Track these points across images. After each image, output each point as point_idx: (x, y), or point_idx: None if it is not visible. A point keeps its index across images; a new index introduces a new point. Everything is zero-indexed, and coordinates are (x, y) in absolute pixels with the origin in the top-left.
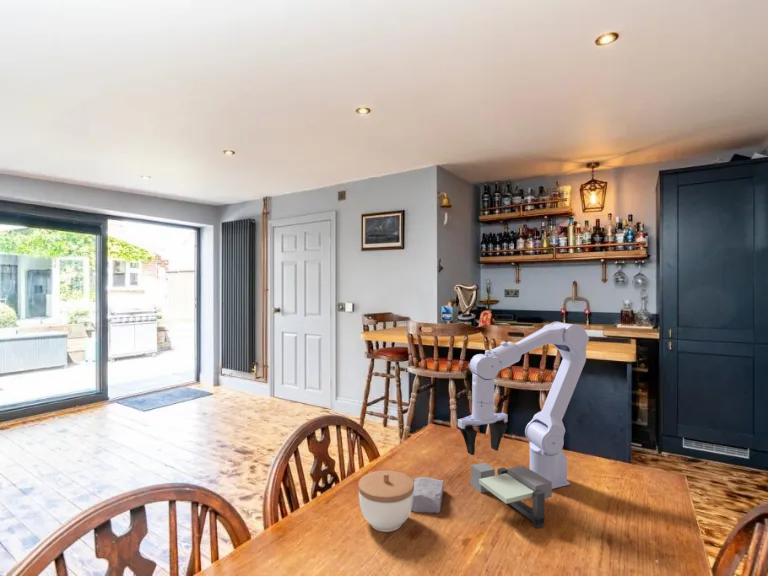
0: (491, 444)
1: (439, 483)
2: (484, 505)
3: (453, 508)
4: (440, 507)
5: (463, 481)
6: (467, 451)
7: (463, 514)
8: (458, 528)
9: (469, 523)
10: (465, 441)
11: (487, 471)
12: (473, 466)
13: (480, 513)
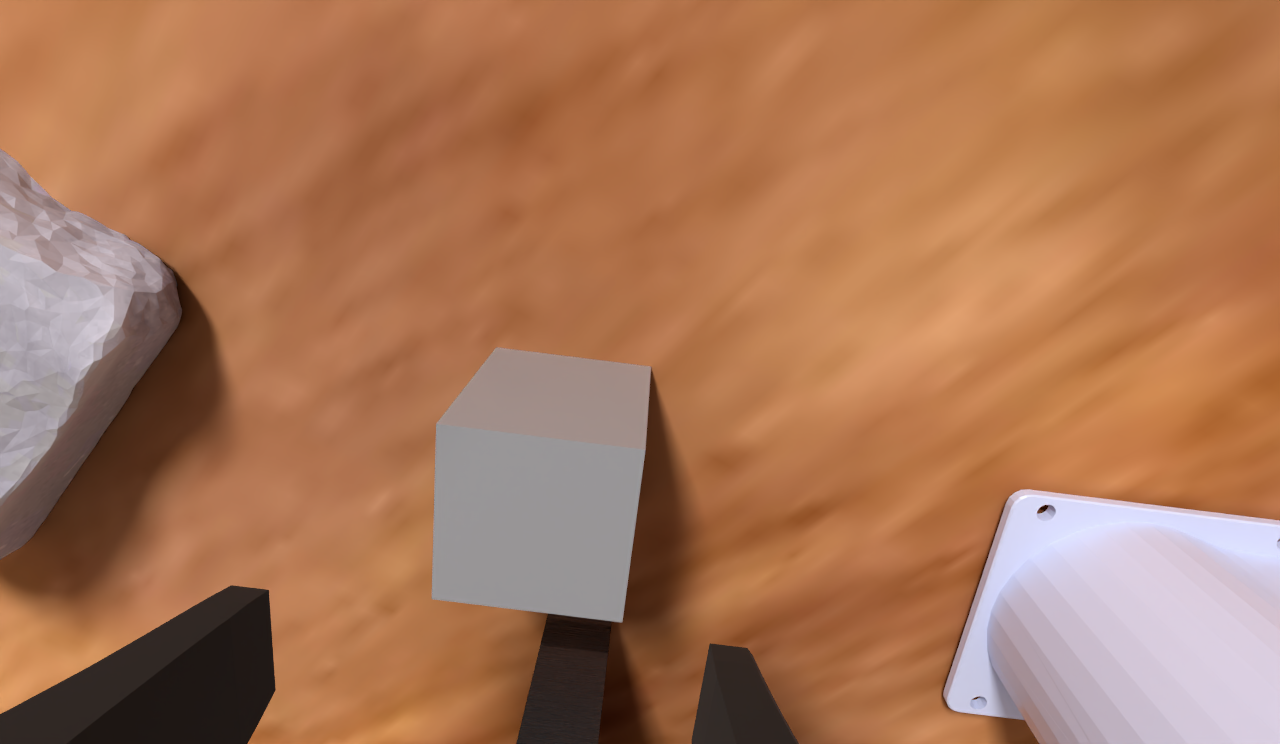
0: (711, 694)
1: (41, 382)
2: (397, 618)
3: (156, 544)
4: (35, 525)
5: (477, 252)
6: (215, 596)
7: None
8: None
9: None
10: (43, 708)
11: (522, 603)
12: (439, 466)
13: (308, 668)
